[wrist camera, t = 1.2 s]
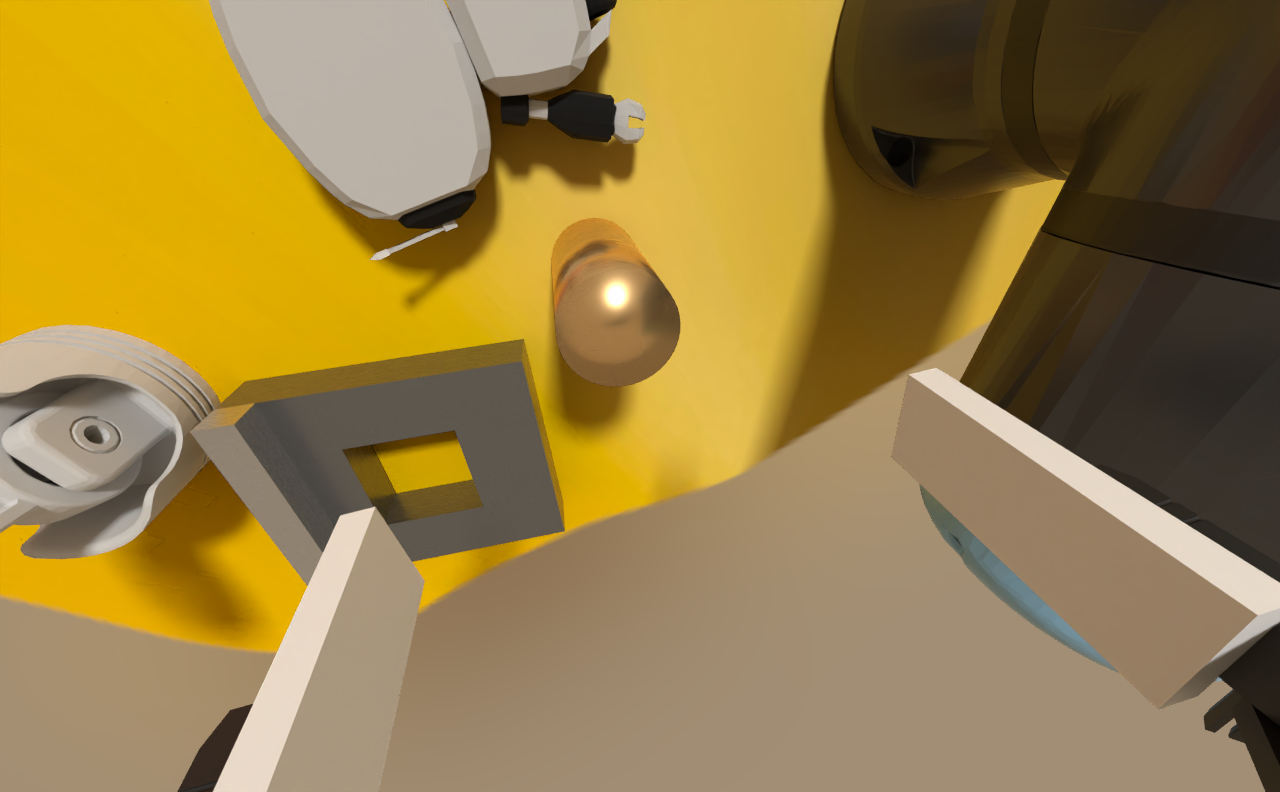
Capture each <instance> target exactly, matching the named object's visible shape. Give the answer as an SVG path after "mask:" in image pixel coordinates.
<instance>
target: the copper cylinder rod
mask: <svg viewBox="0 0 1280 792" xmlns="http://www.w3.org/2000/svg"><path fill="white" fill-rule="evenodd" d="M551 265H552V281H553V296H554V311H555V326H556V338H557V344H558V347H559V350H560V353H561V355H562V357H563V359H564V360H565V362H566V363H567V364H568V366H569V367H570V368H571V369H572V370H573V371H574V372H575V373H576V374H578V375H579V376H581V377H582V378H584V379H586V380H588V381H590V382H592V383H595V384H599V385H603V386H616V387H618V386H627V385H631V384H635V383H638V382H640V381H643V380H645V379H647V378H649V377H650V376H652V375H653V374H655V373H656V372H657V371H658V370H660V369H661V368H662V367H663V366H664V365H665V364H666V362H667V361H668V360H669V359H670V357H671V355H672V354H673V352H674V350H675V348H676V345H677V342H678V339H679V334H680V316H679V312H678V308H677V306H676V303H675V301H674V299H673V298H672V296H671V294H670V293H669V291H668V290H667V289H666V287H665V286H664V284H663V283H662V282H661V280H660V279H659V277H658V276H657V275H656V273H655V272H654V270H653V269H652V268H651V266H650V265H649V263H648V262H647V261H646V259H645V258H644V256H643V255H642V254H641V252H640V251H639V249H638V248H637V246H636V245H635V244H634V242H633V241H632V239H631V238H630V237H629V235H628V234H627V233H626V232H625V231H624V230H623V229H622V228H621V227H619V226H618V225H616V224H615V223H613V222H610V221H608V220H604V219H598V218H590V219H584V220H581V221H578V222H576V223H574V224H572V225H571V226H569V227H568V228H567V229H565V230H564V231H563V232H562V234H561V235H560V236H559V238H558V239H557V241H556V243H555V245H554V248H553V252H552V258H551Z"/></svg>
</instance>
